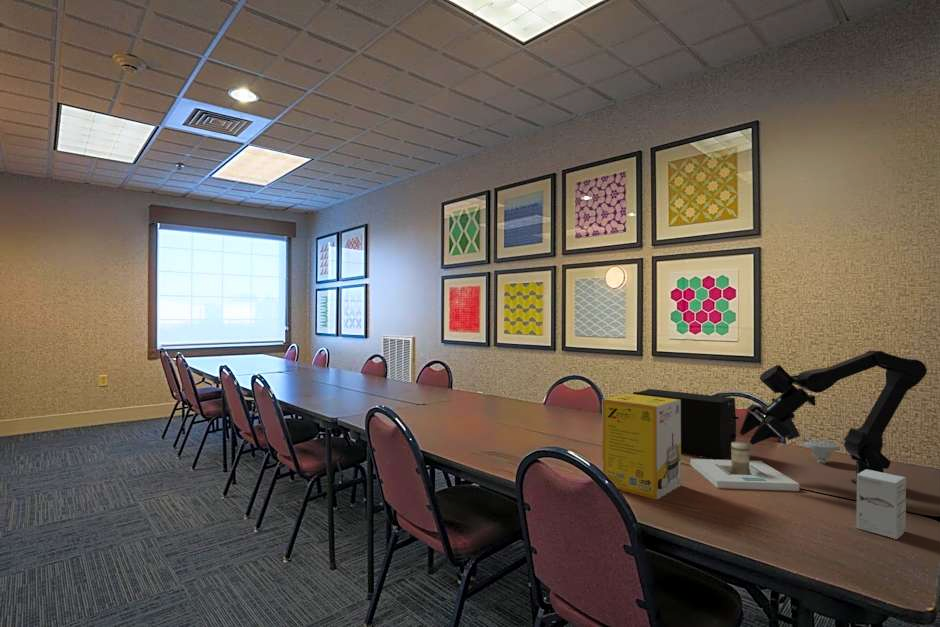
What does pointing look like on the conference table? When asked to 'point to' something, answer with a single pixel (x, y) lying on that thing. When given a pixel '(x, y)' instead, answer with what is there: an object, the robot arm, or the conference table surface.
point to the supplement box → (881, 503)
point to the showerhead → (821, 449)
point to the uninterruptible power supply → (703, 422)
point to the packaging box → (642, 443)
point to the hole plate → (759, 479)
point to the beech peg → (739, 458)
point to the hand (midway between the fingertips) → (745, 438)
